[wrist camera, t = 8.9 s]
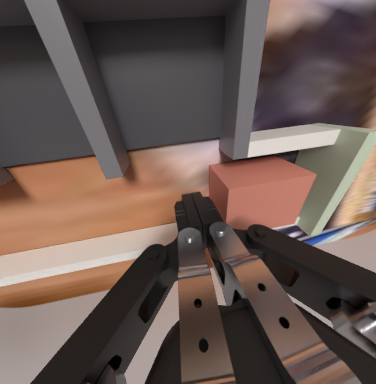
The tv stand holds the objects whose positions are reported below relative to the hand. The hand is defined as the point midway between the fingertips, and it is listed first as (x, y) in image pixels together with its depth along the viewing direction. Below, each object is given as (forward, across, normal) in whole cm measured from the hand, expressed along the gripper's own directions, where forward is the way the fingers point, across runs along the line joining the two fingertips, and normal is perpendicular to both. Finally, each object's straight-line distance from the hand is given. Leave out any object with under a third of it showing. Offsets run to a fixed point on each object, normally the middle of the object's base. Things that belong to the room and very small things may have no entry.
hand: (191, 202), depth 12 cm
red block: (+2, -5, 0) cm, 5 cm away
